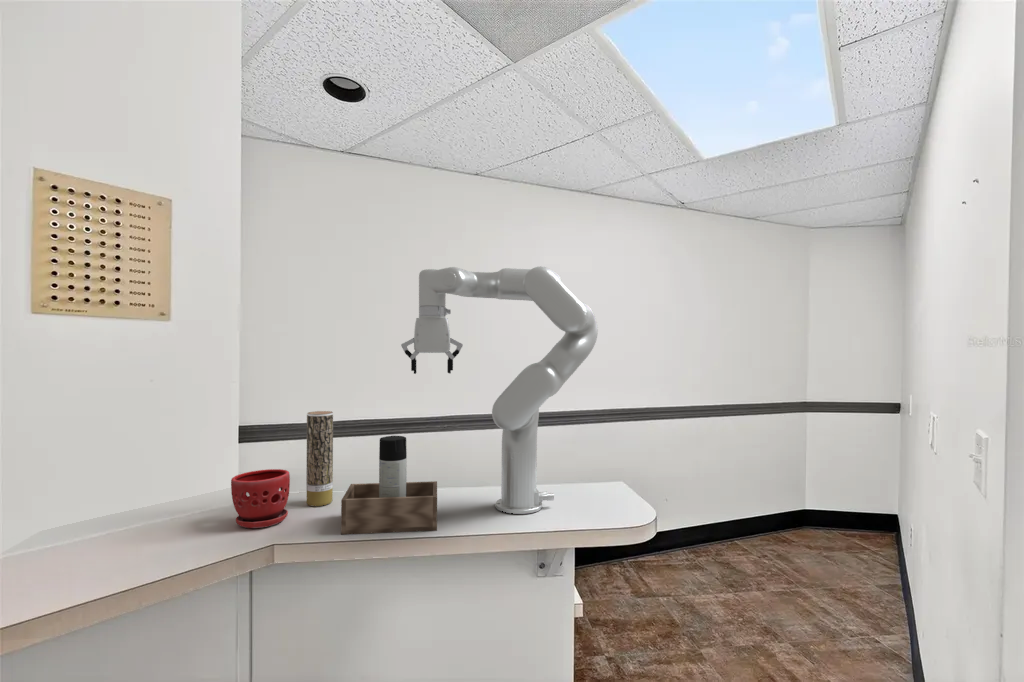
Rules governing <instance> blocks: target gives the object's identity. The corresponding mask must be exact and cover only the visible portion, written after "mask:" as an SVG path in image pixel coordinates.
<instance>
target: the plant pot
mask: <svg viewBox="0 0 1024 682" xmlns="http://www.w3.org/2000/svg"><path fill="white" fill-rule="evenodd" d="M290 477H291V474H290V472H289V471H288V470H286V469H279V468H278V469H277V468H274V469H273V468H271V469H270V468H269V469H260V470H258V469H257V470H253V471H252V470H251V471H248V472H244V473H243V472H242V473H239V474H236V475H235V476H233V477H232V478H231V480H230V491H231V492H230V493H231V498H232V504H233V507H234V509H235V511H236V513H237V514H238V515H237V516H236V518H235V522H236V524H237V525H238V526H240V527H241V528H245V529H260V528H267V527H271V526H276V525H277V524H281V522H283V521H284V520H285V519H286V518H287V516H288V514H289V511H288V510H287V509H286V506H287V504H288V500H289V496H290V487H291V486H290V485H291V478H290ZM247 493H248V495H247Z"/></svg>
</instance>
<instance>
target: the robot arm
mask: <svg viewBox="0 0 1024 682" xmlns="http://www.w3.org/2000/svg"><path fill="white" fill-rule="evenodd" d="M560 276H561V275H559V274H558V273H557V272H556V271H554V270H553V269H550V268H549V267H547V266H535V267H532V268H529V269H528V268H510V267H509V268H508V267H506V268H501V269H500V270H498V271H492V272H489V271H488V272H485V271H483V272H482V271H468V270H466V269H463V268H460V267H455V266H450V267H445V268H441V269H434V268H431V269H430V268H429V269H422V270H421V271H420V272H419V273H418V317H416V318H415V323H414V331H413V334H414V335H413V338H411V339H409V340H406V341H405V342H403V343H401V344H400V345H401V346H400V347H401V348H402V350H403V353H404V354H405V355H406V356H407V357H408V358H409V359H410V361H411V365H410V368H411V369H410V370H411V372H413V374H415V375H416V374H417V356H418V355H419V354H420V353H421V354H427V353H429V354H440V353H441V354H442V353H443V354H445V355H446V356H447V373H448V374H451V371H454V359H455V358H456V357H457V356H458V354H459V353H460V352H461V349H462V348H463V343H461V342H459V341H457V340H456V339H454V338H452V337H451V333H450V332H451V331H450V323H449V318H447V317H446V316H447V315H451V309H449V308H447V307H446V294H447V295H448V294H450V295H454V296H458V297H464V298H477V299H479V298H480V299H481V298H482V299H498V300H506V301H507V300H508V301H527V302H533V303H534V304H535V305H536V306H537V307H538V308H539V309H540V310H541V311H542V312H543V313H544V314H545V316H547V318H548V319H549V320H550V321H551V322H552V323H553V324H554V325H555V327H557V328H558V329H559V330H561V331H562V332H565V333H564V334H563V336H562V338H561V339H560V340H558V342H557V343H556V344H555V345H554V346H552V348H551V350H550V351H548V353H547V354H546V355H545V356H544V357H543V358H542V359H541V360H539V361H538V362H535V363H531V364H530V365H527V366H526V367H525V368H523V370H521V372H520V373H519V374H518V375H517V376H516V377H515V378H514V379H513V381H511V382H510V383H509V385H508V386H507V387H506V388H505V389H504V390H503V391H502V392H501V394H500V395H499V396H498V397H497V398H496V400H495V401H494V403H493V405H492V409H491V415H492V420H493V422H494V424H495V425H496V426H497V427H498V428H500V429H501V430H502V435H501V484H500V485H501V496H500V497H501V498H499V499H497V500H496V501H495V508H496V509H497V511H500V512H502V511H503V512H502V513H505V512H506V513H507V514H511V513H513V514H512V515H526V514H533V513H536V512H538V511H540V510H542V508H543V503H542V502H543V501H554V500H555V494H554V492H553V493H552V492H550V493H549V492H548V491H539V490H538V489H537V470H538V468H537V464H538V463H537V458H538V457H537V456H538V455H537V453H538V452H537V450H538V426H539V419H540V418H539V417H540V408H541V407H542V405H544V403H545V402H546V401H547V400H548V399H549V398H550V397H553V396H555V395H556V394H557V393H558V392H559V391H560V389H561V388H562V386H563V385H565V383H566V382H567V380H569V379H570V378H571V376H573V374H574V373H575V372H576V371H577V370H578V369H579V367H580V366H581V364H583V363H584V361H585V360H586V359H587V358H589V357H588V356H589V355H590V354H591V352H592V351H593V349H594V348H595V345H596V343H597V339H598V332H599V329H598V328H599V327H598V322H597V318H596V316H595V314H594V312H593V310H592V308H591V307H590V306H589V305H588V304H587V303H585V302H583V301H581V300H579V299H578V298H577V297H576V296H575V295H574V293H572V291H570V290H569V288H568V287H566V285H565V284H564V283H563V281H562V277H560ZM412 344H413V350H414V351H413V352H411V351H409V349H408V347H409V346H410V345H412ZM451 344H452V345H455V347H456V348H455V350H453V352H451V351H450V350H451Z"/></svg>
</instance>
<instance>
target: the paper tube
mask: <svg viewBox="0 0 1024 682" xmlns="http://www.w3.org/2000/svg"><path fill="white" fill-rule="evenodd" d="M333 463H334V412H333V411H331V410H327V411H326V410H317V411H310V412H307V413H306V487H305V488H306V504H307V506H310V507H323V505H324V506H328V505H330V504H331V503H332V502H333V499H334V498H333V496H334V495H333V491H334V490H333V489H334V488H333V487H334V486H333V485H334V483H333V482H334V480H333V478H334V477H333V475H334V473H333V472H334V471H333V470H334V468H333V466H334V464H333ZM327 504H328V505H327Z"/></svg>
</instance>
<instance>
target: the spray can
mask: <svg viewBox="0 0 1024 682" xmlns="http://www.w3.org/2000/svg"><path fill="white" fill-rule="evenodd" d="M407 453H408V452H407V437H405V436H403V435H388V436H383V437H380V438H379V452H378V454H379V455H378V460H379V461H378V463H379V464H378V466H379V468H378V469H379V470H378V471H379V473H378V478H379V479H378V483H379V498H384V497H406V482H407V473H408V472H407V468H408V465H407V462H408V461H407V459H408V458H407V457H408V456H407Z"/></svg>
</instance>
